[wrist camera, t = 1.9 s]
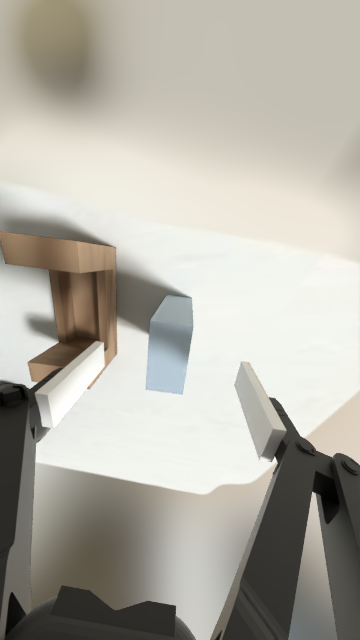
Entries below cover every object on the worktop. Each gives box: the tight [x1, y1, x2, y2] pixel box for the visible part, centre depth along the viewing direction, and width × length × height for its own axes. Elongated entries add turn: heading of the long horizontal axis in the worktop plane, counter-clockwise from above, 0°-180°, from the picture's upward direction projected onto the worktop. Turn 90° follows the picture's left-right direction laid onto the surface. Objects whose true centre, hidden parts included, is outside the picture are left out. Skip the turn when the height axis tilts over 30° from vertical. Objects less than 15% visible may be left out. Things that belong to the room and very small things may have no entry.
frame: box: [0, 232, 117, 389], centre depth 24 cm, size 8×18×9 cm, turn 173°
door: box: [146, 295, 193, 395], centre depth 22 cm, size 4×8×12 cm, turn 173°
